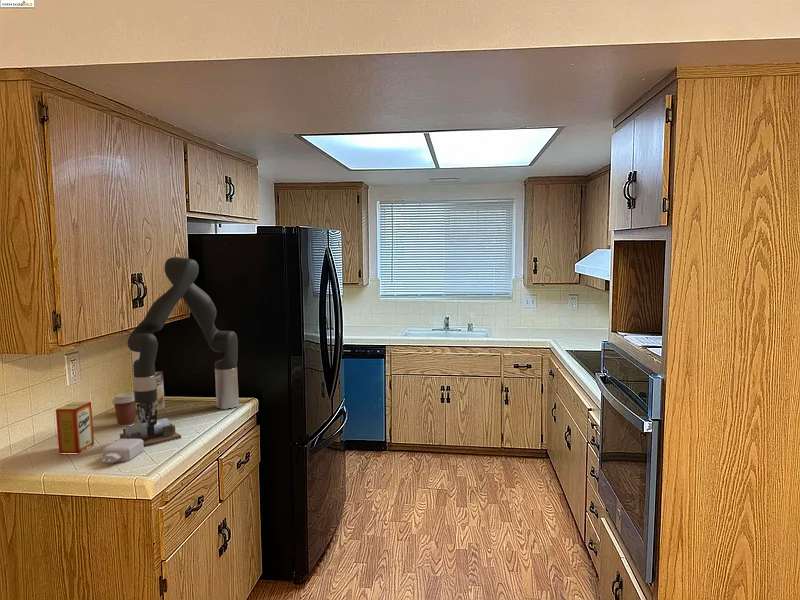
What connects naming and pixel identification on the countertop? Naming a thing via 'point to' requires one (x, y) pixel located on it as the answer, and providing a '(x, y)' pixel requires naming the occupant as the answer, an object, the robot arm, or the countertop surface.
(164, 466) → the countertop surface
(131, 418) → the coffee cup
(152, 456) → the countertop surface
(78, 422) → the baking soda box
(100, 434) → the countertop surface
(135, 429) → the cylinder
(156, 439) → the walnut holder
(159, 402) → the coffee box
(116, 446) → the charger
